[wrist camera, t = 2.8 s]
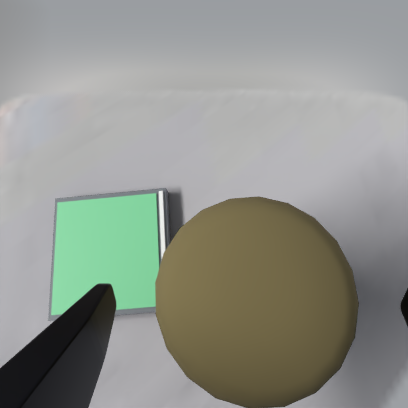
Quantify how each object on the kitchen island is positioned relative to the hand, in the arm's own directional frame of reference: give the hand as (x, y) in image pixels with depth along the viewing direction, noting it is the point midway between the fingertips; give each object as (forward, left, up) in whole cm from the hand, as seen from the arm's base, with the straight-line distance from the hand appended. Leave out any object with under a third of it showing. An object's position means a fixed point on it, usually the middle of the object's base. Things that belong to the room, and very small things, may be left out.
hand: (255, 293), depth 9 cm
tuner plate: (+3, +7, -8) cm, 11 cm away
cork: (0, 0, -8) cm, 8 cm away
